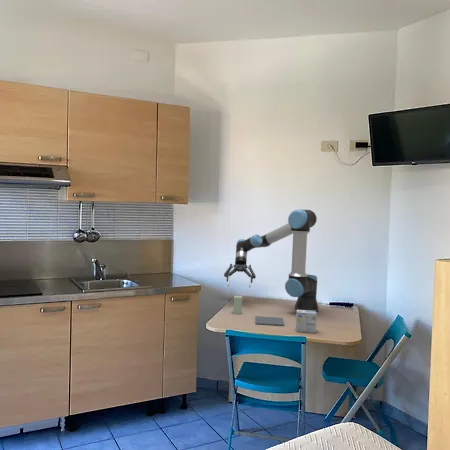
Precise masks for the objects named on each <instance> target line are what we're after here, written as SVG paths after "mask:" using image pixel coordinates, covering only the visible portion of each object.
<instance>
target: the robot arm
mask: <svg viewBox="0 0 450 450" xmlns="http://www.w3.org/2000/svg"><path fill="white" fill-rule="evenodd" d="M317 221H318V219H317V214H316V213H315V212H314V211H313V210H311V209H302V208H300V209H294V210H292V211H291V212H290V213H289V215H288V219H287V222H288V223H286V224H284V225H282V226H280V227H278V228H276V229H274V230H272V231H269V232H268V233H266V234H263V235H261V236H260V235H259V234H254V235H251V236H250V237H249V238H247V239H244V238H241V239H240V238H239V239H238V240H237V242H236V246H235V247H236V248H235V249H236V250H235V262H234V264H232V263H230V264H229V267H228V268H227V269H226V271H225V272H224V273H223V276H224V278H226V282H227V287H228V288H229V287H230V281H231V280H230V279H231V276H232V275H233V274H235V273H236V272H237V273H238V272H240V273H244V274H246V276H248V277H249V282H248V283H249V284H248V286H249V288H250V289H251V284H253V281H254V279H256V276H257V275H256V273H255V272H254V270H253V268H252V264H249V265H247V261H248V260H247V257H248V252H249V251H252V250H253V249H256V248H257V249H258V248H267V247H270V246H271V245H272V244H274V243H276V242H278V241H281V240H283V239H285V238H287V237H289V236H291V235H292V251H291V271H290V273H288V280H287V281H285V283H284V290H285V291H286V293H287V294H288V295H289V296H290V297H293V298H297V300H295V301H296V302H295V304H294V309H295V310H296V311H297V310H311V311H316V313H317V312H319V304H318V299H317V290H318V277H317V275H315V274H307V273H306V264H307V263H306V262H307V244H308V243H307V242H308V234H309V233H310V231H311V228H312V227H315V225H316V223H317Z"/></svg>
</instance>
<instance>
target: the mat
mask: <svg viewBox="0 0 450 450" xmlns="http://www.w3.org/2000/svg"><path fill="white" fill-rule="evenodd" d="M254 322H255V325H256V326H257V325H259V326H274V327H275V326H276V327H285V321H284V317H275V316H262V315H261V316H260V315H258V316H257V315H256V316H255V321H254Z"/></svg>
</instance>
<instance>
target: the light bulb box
mask: <svg viewBox="0 0 450 450" xmlns="http://www.w3.org/2000/svg"><path fill="white" fill-rule="evenodd" d="M317 315H318V314H317V312H316V311H311V310H296V315H295V332H296V331H297V333H299V332H300V333H311V334H312V333H313V334H316V333H317Z"/></svg>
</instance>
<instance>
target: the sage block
mask: <svg viewBox="0 0 450 450" xmlns="http://www.w3.org/2000/svg"><path fill="white" fill-rule="evenodd" d="M232 306H233V309H232V311H233V312H232V313H233V314H234V315H242V313H243V312H242V311H243V295H234V297H233V305H232Z"/></svg>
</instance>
